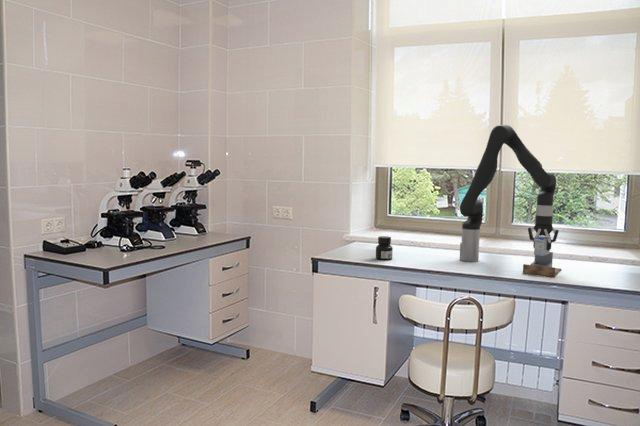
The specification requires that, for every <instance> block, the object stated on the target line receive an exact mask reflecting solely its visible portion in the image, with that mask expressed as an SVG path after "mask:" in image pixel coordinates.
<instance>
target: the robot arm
mask: <svg viewBox="0 0 640 426" xmlns="http://www.w3.org/2000/svg"><path fill="white" fill-rule="evenodd" d="M504 144H505V145H506V146H508V148H510V149H511V150H512V151H513V152H514V154H515V156H516V158H517V160H518V163H519V164H520V165H521V166H522V167H523V168H524V169H525V171H526V172H527V173H528V174H529V175H530V177H531V178H532V180H533V181H534V183H535V184H536V185H537V186H538V187H540V191H539V193H538V194H537V196H536V197H537V198H536V206H535V207H536V208H535V217H534V218H535V221H534V226H533V227H531V226H530V227H528V228H527V232H528V235H529V236H528V237H529V240H530V241H532V242H533V248H534V246H535V237H539V236H546V237H547V239H548V247H547V251H549V250H550V251H551V249H552V243H555V242H556V241H557V239H558V235H559V231H560V229H556V228H554V227H553V217H554V206H553V205H554V195H555V191H556V187H557V177H556V176H555V174H553V173H551V172H547V171H546V170H545V169H544V168H543V164H542V163H541V162H540V161H539V159H538V158H537V157H535V155H534V154H533V153H532V152H531V151H530V150H529V149H528V148H527V146H526V145H525V144H524V143H523V141H522V140H521V138H520V137H519V135H518V133H517V132H516V130H515V129H514V128H513V126H511V125H508V124H499V125H496V126H494V127H493V128H492V129H491V132H490V134H489V137H488V141H487V143H486V147H485V150H484V153H483V154H482V157H481V160H480V162H479V163H478V166H477V169H476V171H475V173H474V176H473V178H472V180H471V183H470V186H469V188H468V189H467V191H466V193H465V194H464V196H463V198H462V200H461V202H460V206H459V212H460V214H461V215H462V216H463V217H467V219H466V220H465V221H464V222H463V223H462V224H461V225H462V226H461V242H459V243H460V245H459V261H462V262H469V263H472V262H473V263H476V262H479V255H480V254H479V253H480V237H481V235H480V234H481V226H482V222H483V214H484V205H483V202H482V201H481V200H480V199H479V196H480V195H481V194H482V192H484V190H485V189H487V187H488V186H490V184H491V183H492V181H493V180H494V177H495V175H496V173H497V169H498V160H499V159H498V156H499V153H500V151H501V149H502V147H503V145H504ZM534 231H535V233H536V234H535V235H533V232H534ZM551 233H553V234H554V235H553V237H551ZM534 236H535V237H534Z"/></svg>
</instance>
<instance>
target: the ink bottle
mask: <svg viewBox="0 0 640 426" xmlns="http://www.w3.org/2000/svg"><path fill="white" fill-rule="evenodd" d="M391 243H392V237H391V236H388V235H387V236H385V235H380V236H378V237H377V245H376V247H375V259H376V260H379V261H391V260H392V259H393V251H394V250H393V249H394V248H393V246H392V245H391Z"/></svg>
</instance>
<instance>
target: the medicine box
mask: <svg viewBox="0 0 640 426" xmlns="http://www.w3.org/2000/svg"><path fill="white" fill-rule="evenodd" d="M534 238H535V246H534V247H533V249H534V250H533V254H534V256H535V255H538V256H544V255H548V254H549V253H550V252H551V249H550V250H549V251H547V247H548V239H547V237H546V236H543V235H542V236H539V237H534Z"/></svg>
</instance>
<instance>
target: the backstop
mask: <svg viewBox="0 0 640 426" xmlns="http://www.w3.org/2000/svg"><path fill="white" fill-rule="evenodd" d="M560 271H562V268H556V267H553V266H552V267H544V266H536V265H530V264H525V263H523V265H522V275H527V274H529V275H528V276H535V275H538V277H544V276H545V277H546V278H554V279H555V277H556V276H557V275H558V274H559V273H560Z"/></svg>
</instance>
